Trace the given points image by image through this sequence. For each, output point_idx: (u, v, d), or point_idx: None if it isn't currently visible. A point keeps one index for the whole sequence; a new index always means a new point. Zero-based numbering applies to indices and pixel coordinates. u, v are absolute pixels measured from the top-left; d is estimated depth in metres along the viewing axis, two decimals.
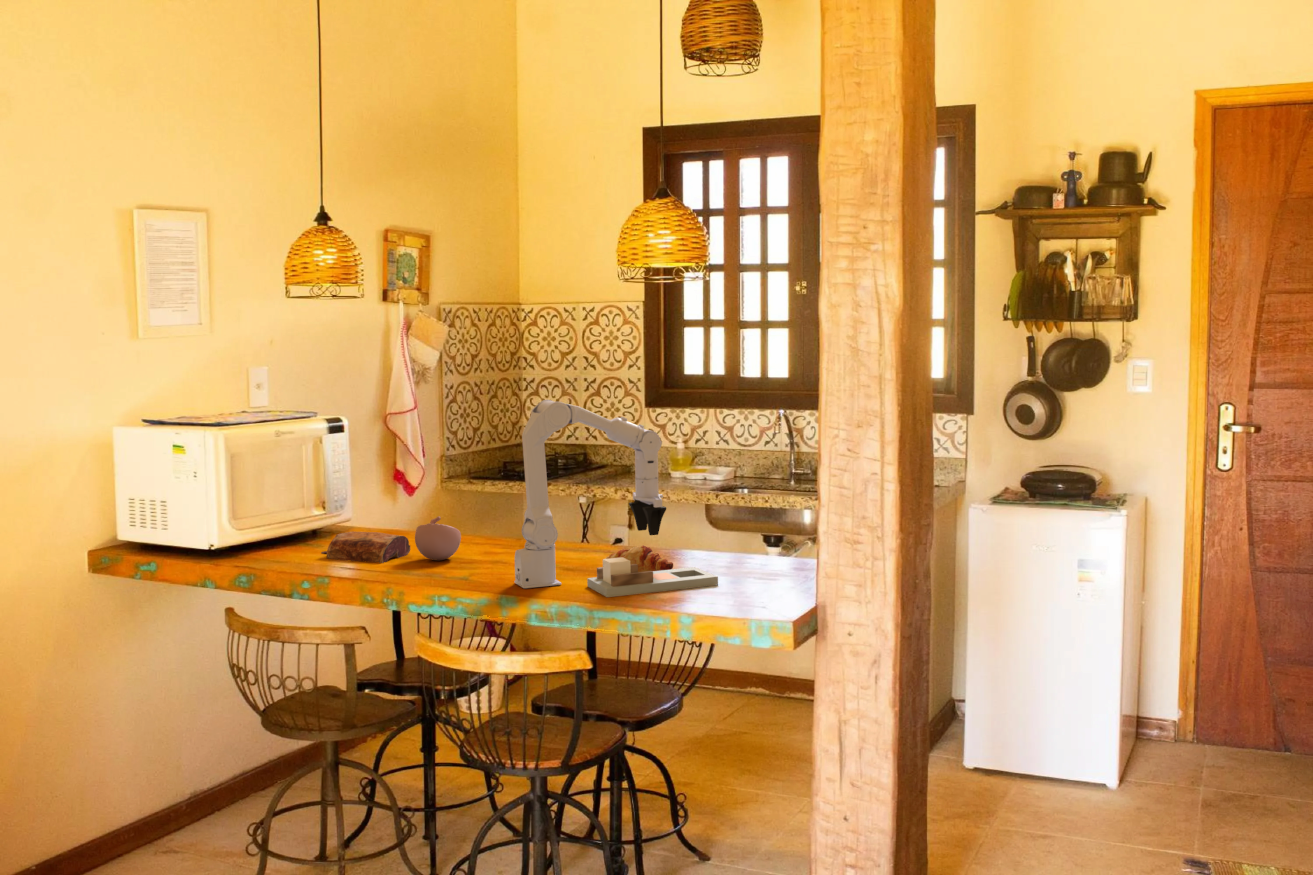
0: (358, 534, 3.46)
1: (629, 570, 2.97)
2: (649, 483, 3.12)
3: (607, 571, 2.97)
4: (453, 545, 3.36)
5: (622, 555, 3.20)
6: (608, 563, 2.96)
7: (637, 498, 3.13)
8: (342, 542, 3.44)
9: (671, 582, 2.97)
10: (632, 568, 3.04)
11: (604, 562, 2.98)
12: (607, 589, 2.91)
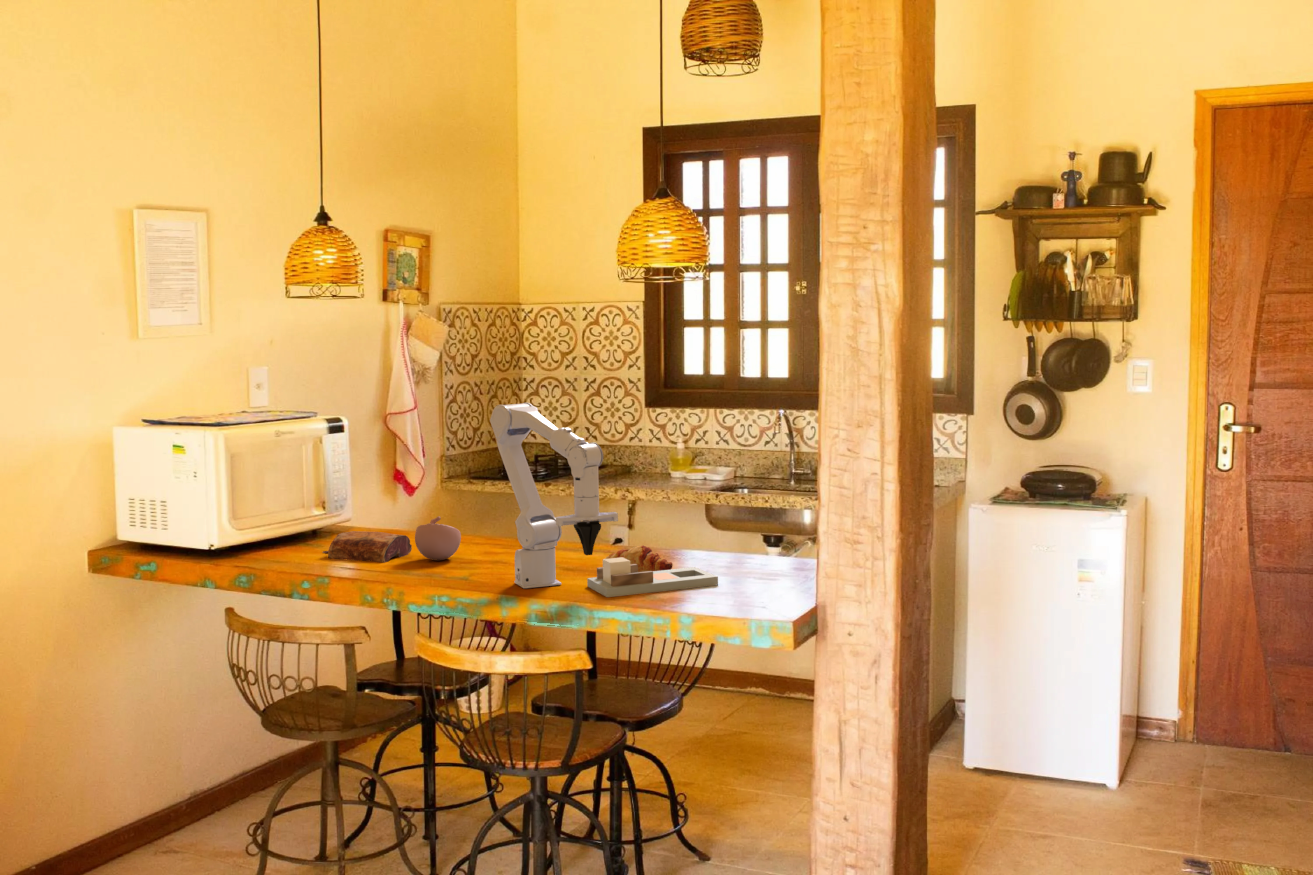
0: (359, 533, 3.46)
1: (629, 570, 2.97)
2: (574, 501, 2.93)
3: (607, 571, 2.97)
4: (453, 545, 3.36)
5: (622, 555, 3.20)
6: (608, 563, 2.96)
7: None
8: (343, 542, 3.44)
9: (671, 582, 2.97)
10: (632, 568, 3.04)
11: (604, 562, 2.98)
12: (607, 589, 2.91)
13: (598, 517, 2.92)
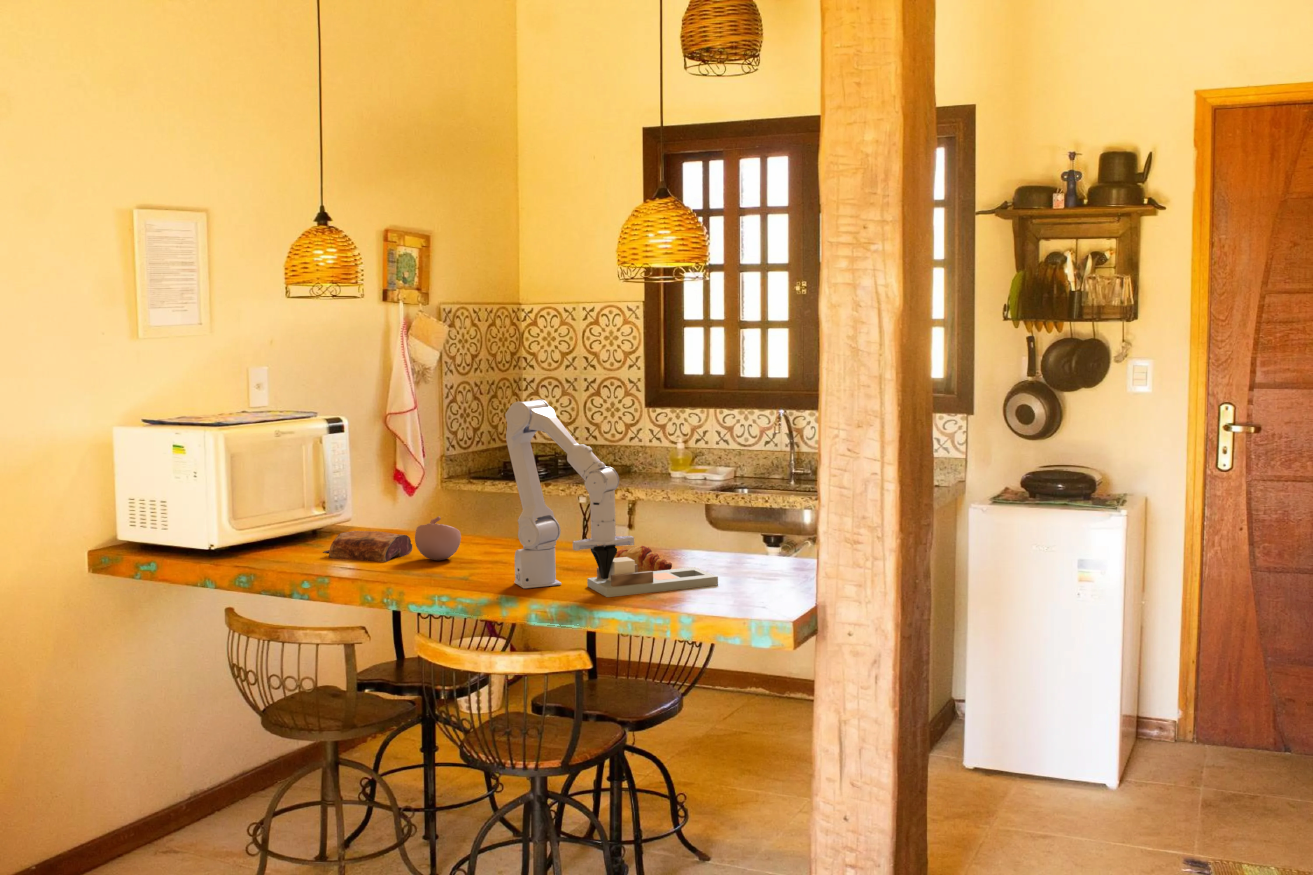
0: (360, 533, 3.47)
1: (633, 570, 2.97)
2: (591, 525, 2.95)
3: (611, 571, 2.97)
4: (453, 545, 3.36)
5: (621, 555, 3.20)
6: (612, 562, 2.96)
7: None
8: (344, 541, 3.45)
9: (671, 582, 2.97)
10: None
11: None
12: (607, 589, 2.91)
13: (615, 541, 2.94)
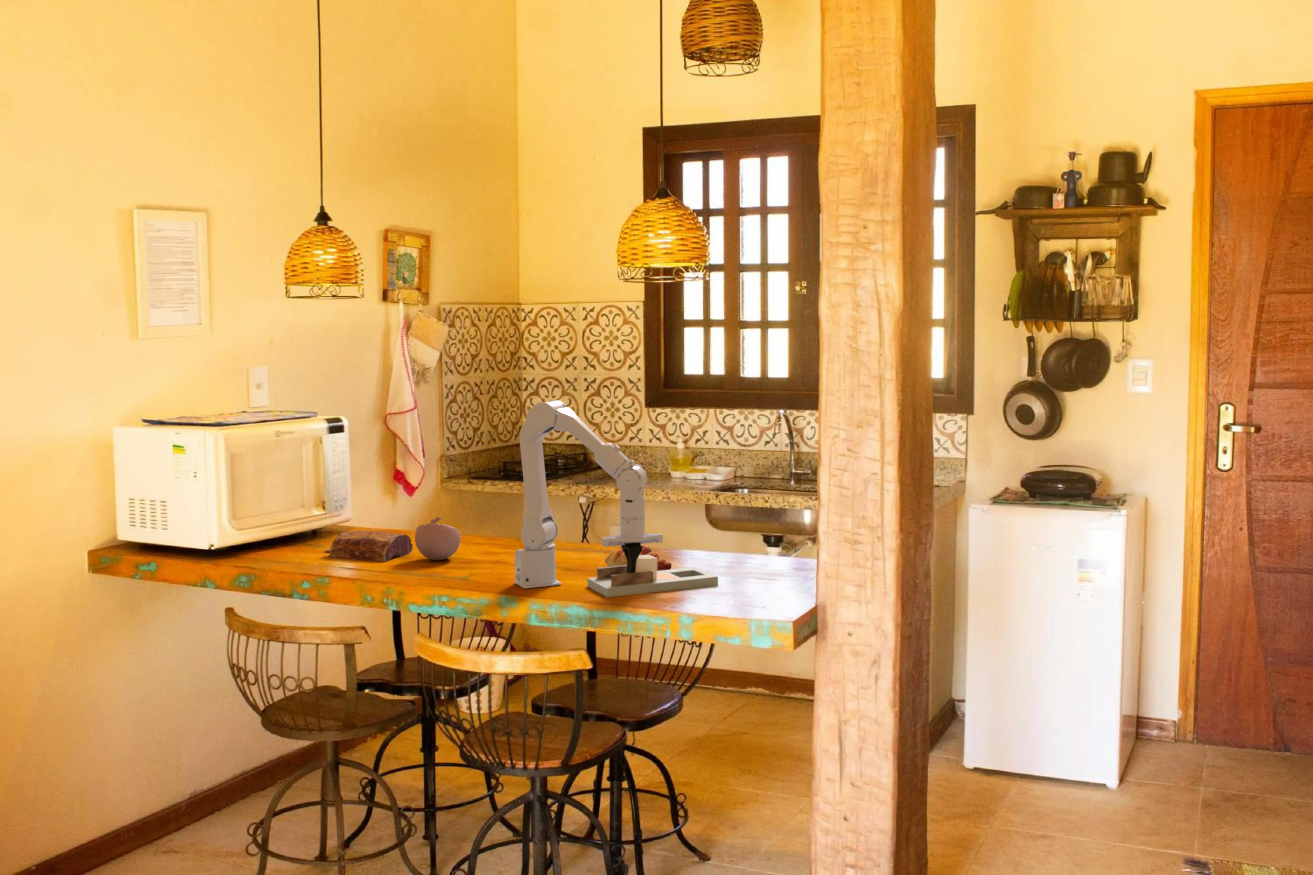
0: (361, 533, 3.47)
1: (655, 567, 2.99)
2: (620, 522, 2.98)
3: None
4: (453, 545, 3.36)
5: (621, 555, 3.20)
6: None
7: None
8: (344, 541, 3.45)
9: (671, 582, 2.97)
10: None
11: None
12: (607, 589, 2.91)
13: (643, 538, 2.97)
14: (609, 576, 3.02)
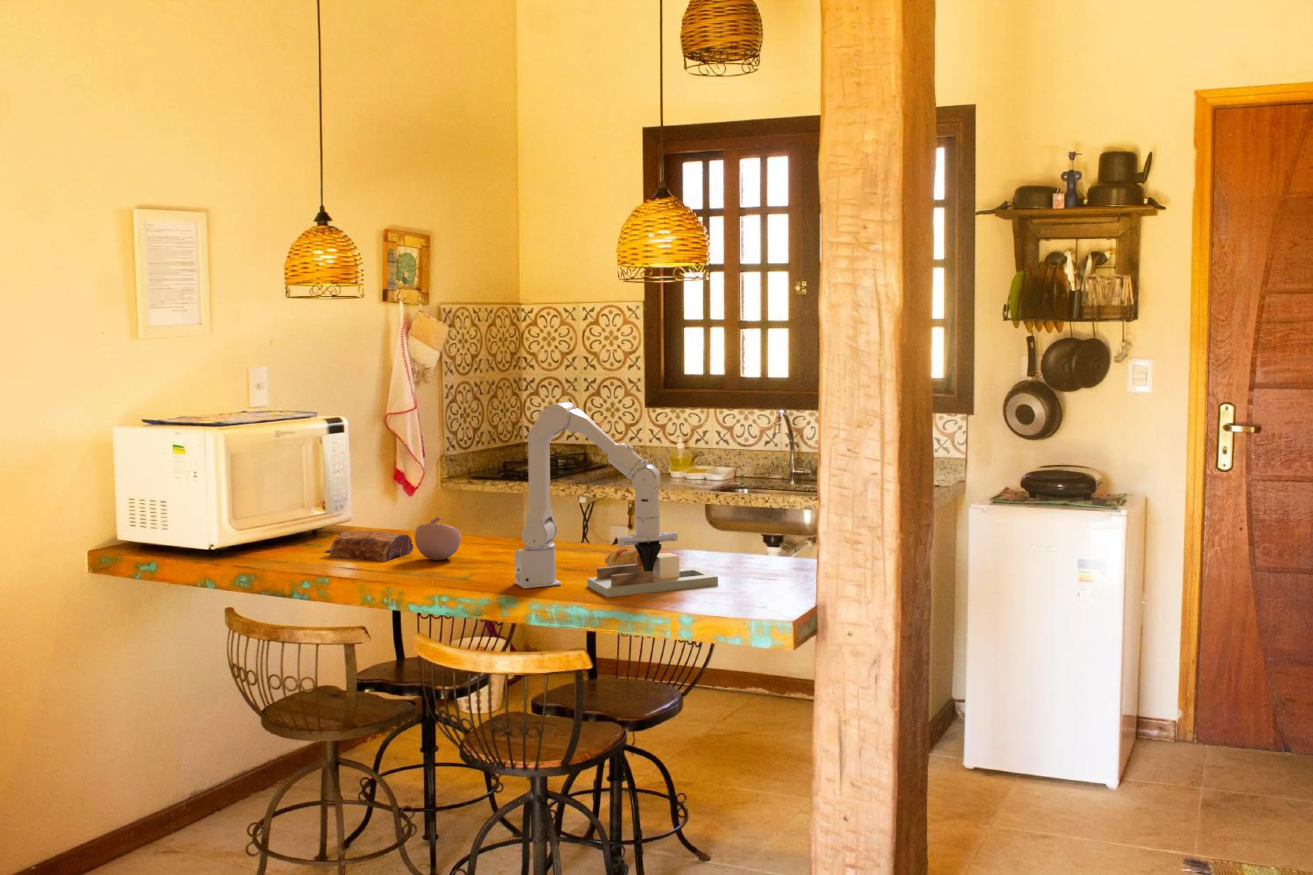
0: (361, 533, 3.47)
1: (678, 565, 3.02)
2: (635, 521, 2.99)
3: (656, 566, 3.01)
4: (453, 545, 3.36)
5: (621, 555, 3.20)
6: (657, 558, 3.00)
7: None
8: (345, 541, 3.46)
9: (671, 582, 2.97)
10: (632, 568, 3.04)
11: None
12: (607, 589, 2.91)
13: (659, 537, 2.99)
14: (609, 576, 3.02)
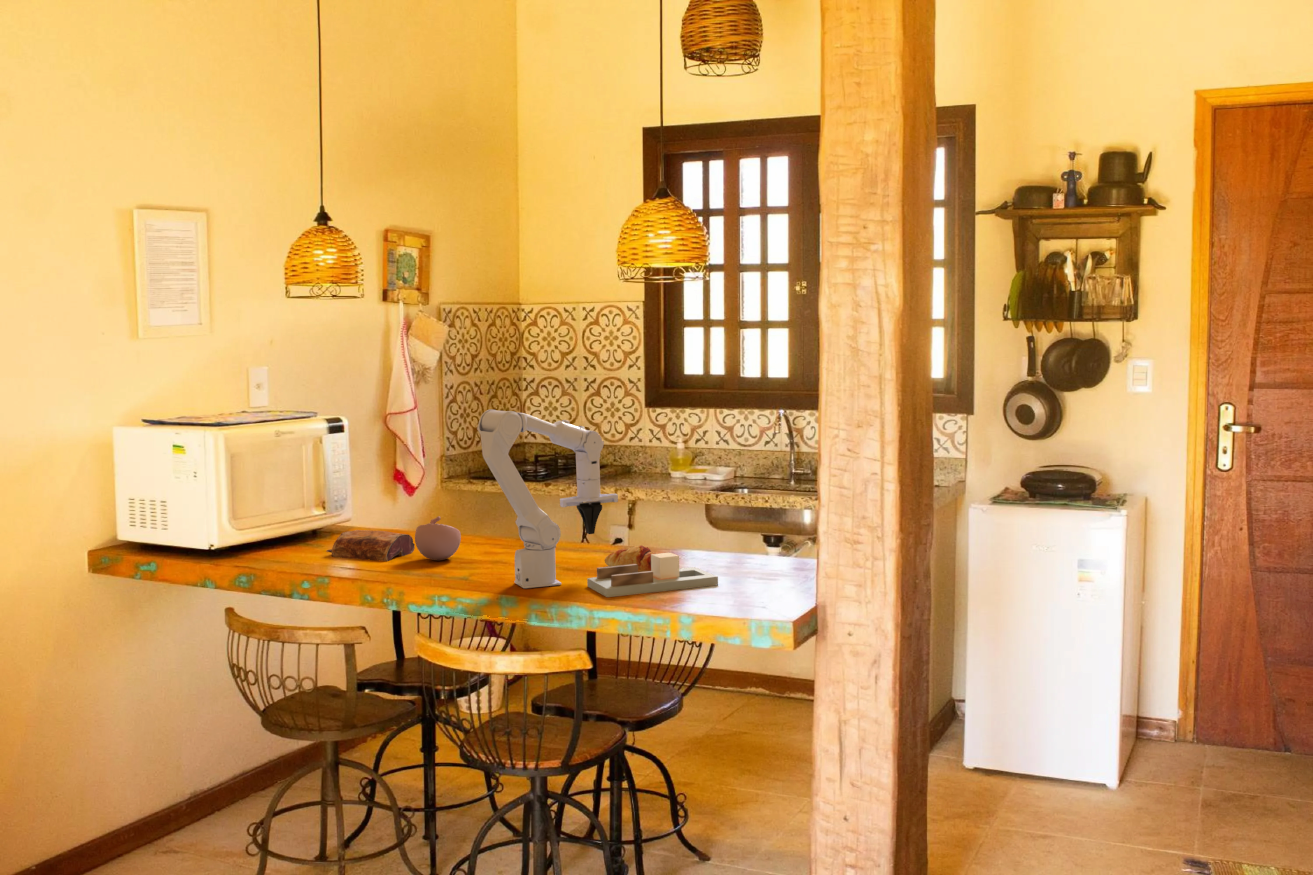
0: (363, 532, 3.48)
1: (678, 565, 3.02)
2: (577, 483, 3.13)
3: (656, 566, 3.01)
4: (453, 545, 3.36)
5: (620, 555, 3.20)
6: (657, 558, 3.00)
7: None
8: (346, 540, 3.46)
9: (671, 582, 2.97)
10: (632, 568, 3.04)
11: (652, 557, 3.03)
12: (607, 589, 2.91)
13: (599, 498, 3.12)
14: (609, 576, 3.02)
